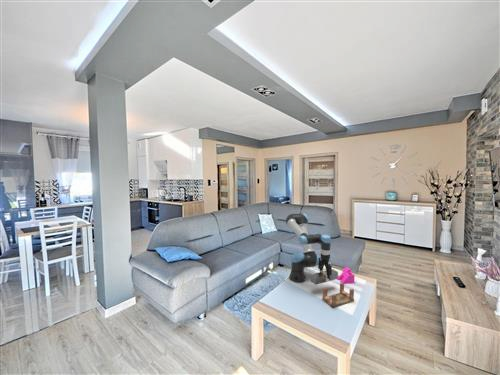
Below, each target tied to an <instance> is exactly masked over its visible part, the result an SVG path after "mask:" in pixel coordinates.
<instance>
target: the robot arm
mask: <svg viewBox="0 0 500 375" xmlns="http://www.w3.org/2000/svg"><path fill="white" fill-rule="evenodd" d="M285 224H286V226H288V228H291V230H292V232H294V233H295V235H296V236H297V237H298V241H299V242H298V243H299V244H300V245H302V249H303V252H296V253H293V254H292V255H291V264H290V266H291V268H290V269H291V270H290V273H289V276H288V277H289V280H290V281H291V282H295V283H301V284H302V283H304V282H306V279H307V278H306V273H305V269H306V268H307V269H308V268H314V267H317V268H318V270H319V272H322V271H324V267H325V271H326V272H327V274H326V282H325V283H329V282H330V281H329V278H330V275H332V269H333V268H332V267H333V263H331V262H330V259H331V246H332V245H331V243H332V242H331V241H332V240H331V239H332V238H331V236H330V235H328V234H321V233H319V232H314V234H309V231H308V228H307V226H308V224H309V217H308V215H307V214H306V213H302V212H301V213H290V214H288V215H287V216H286V218H285ZM313 244H319V245H320V255H319V253H316V250H314V249H313V246H312V245H313Z"/></svg>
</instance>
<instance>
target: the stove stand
mask: <svg viewBox="0 0 500 375" xmlns="http://www.w3.org/2000/svg"><path fill="white" fill-rule="evenodd" d="M354 296H355V289H354V288H350V289H349V293H348V292H347V291H346V290H345V284H344V283H340V282H339V292H337V293H332V294H331V295H328V288H327V287H322V299H321V300H322V301H323V302H324V303H325V304H327V306H329V307H331V308H332V309H335V308H339V307H340V306H343V305H346V304H349V303H353V302H355V298H354Z"/></svg>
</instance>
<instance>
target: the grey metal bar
mask: <svg viewBox="0 0 500 375" xmlns="http://www.w3.org/2000/svg"><path fill="white" fill-rule="evenodd" d="M326 274H327V272H326V270H323V271H322V272H320V271H319V272H315V273H311V274H310V282H311V283H313V284H314V285H316V286H317V285H319V284H320V285H321V284H324V283H327V282H326ZM338 276H339V271H336V270H335V269H334V268H332V275H330V278H329V282H331V281H335V280H337V279H338Z"/></svg>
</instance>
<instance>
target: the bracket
mask: <svg viewBox="0 0 500 375" xmlns="http://www.w3.org/2000/svg"><path fill="white" fill-rule="evenodd" d="M336 280H337V281H339V284H340V283H344V285H347V284H355V274H354V273H352V270H351V268H350V267H347V266H346V267H344V268H343V269H342V270H341V273H340V275H338V279H336Z"/></svg>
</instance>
